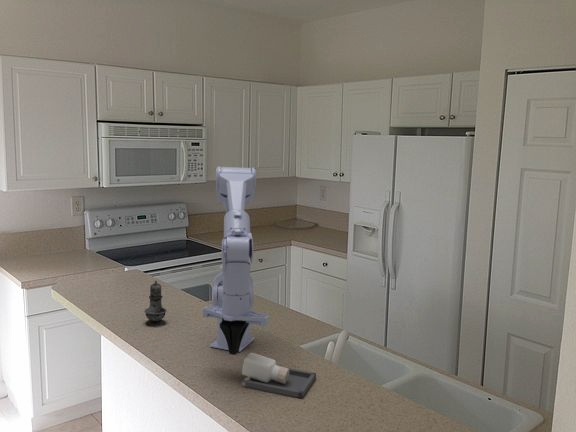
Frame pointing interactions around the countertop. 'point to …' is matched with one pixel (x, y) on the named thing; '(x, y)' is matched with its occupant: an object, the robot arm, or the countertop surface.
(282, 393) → the tray
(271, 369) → the pepper shaker
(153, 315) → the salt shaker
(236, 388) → the countertop surface
